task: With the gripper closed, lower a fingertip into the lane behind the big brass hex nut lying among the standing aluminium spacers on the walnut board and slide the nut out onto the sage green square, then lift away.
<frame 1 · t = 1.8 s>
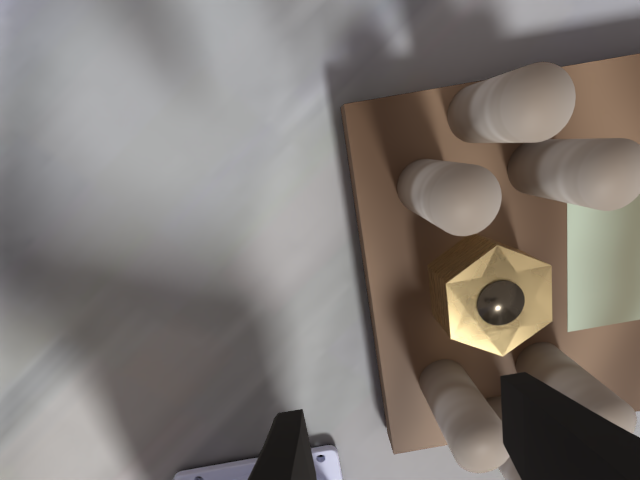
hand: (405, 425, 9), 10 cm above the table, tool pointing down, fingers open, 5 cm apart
nut: (474, 282, 18), point 1 cm above the table, touching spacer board
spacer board: (509, 264, 20), on the table
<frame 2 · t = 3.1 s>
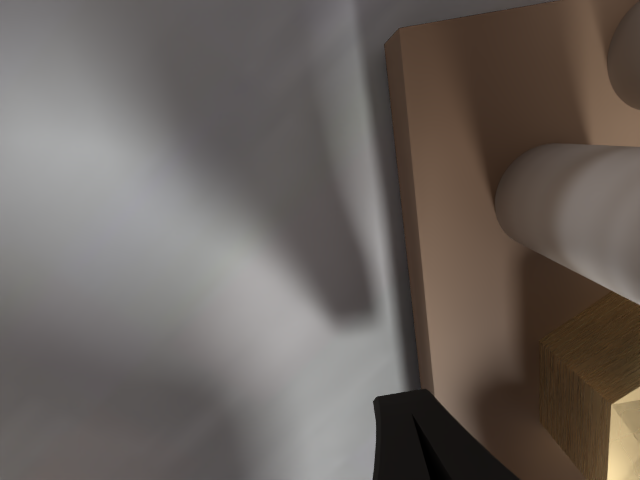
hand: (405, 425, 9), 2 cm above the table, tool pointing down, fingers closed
nut: (621, 368, 10), point 1 cm above the table, touching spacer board
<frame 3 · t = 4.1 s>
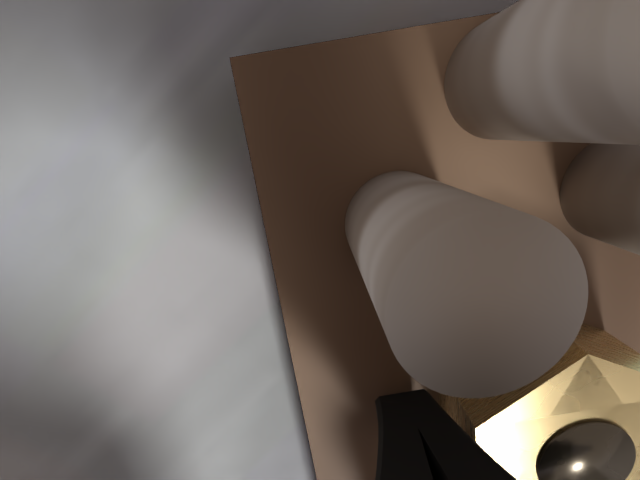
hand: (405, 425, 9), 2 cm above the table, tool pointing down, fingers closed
nut: (520, 386, 10), point 2 cm above the table, touching gripper
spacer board: (548, 346, 12), on the table
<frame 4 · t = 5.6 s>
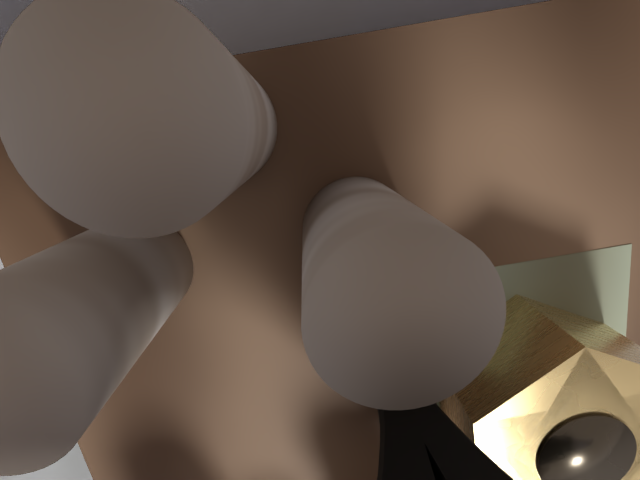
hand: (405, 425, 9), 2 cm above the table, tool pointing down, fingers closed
nut: (520, 381, 10), point 2 cm above the table, touching gripper, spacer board
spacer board: (354, 377, 12), on the table
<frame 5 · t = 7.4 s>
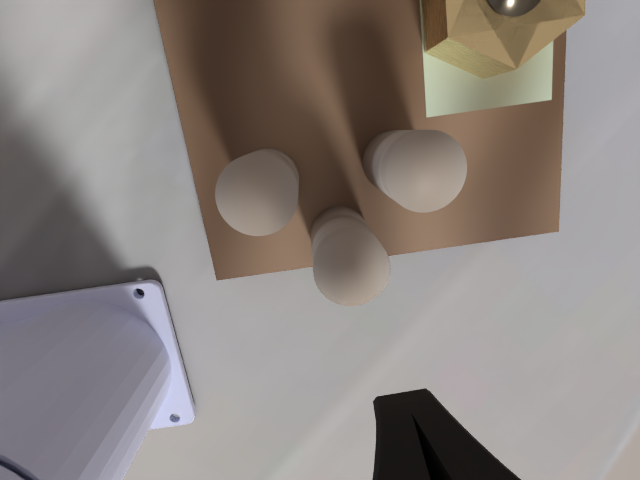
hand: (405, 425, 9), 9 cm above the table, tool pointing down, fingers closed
nut: (480, 5, 14), point 2 cm above the table, touching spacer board
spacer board: (361, 36, 16), on the table
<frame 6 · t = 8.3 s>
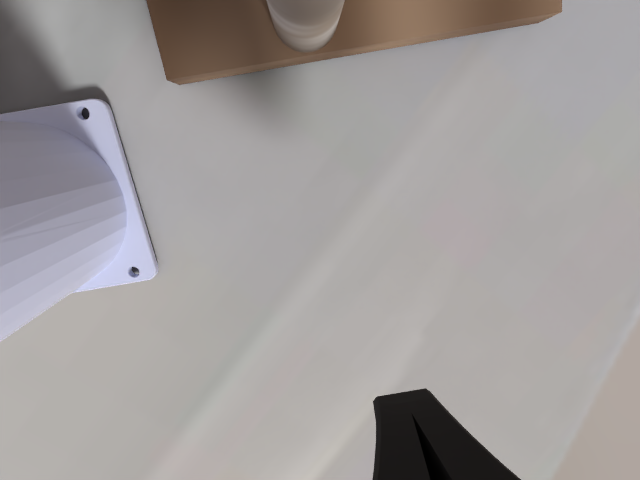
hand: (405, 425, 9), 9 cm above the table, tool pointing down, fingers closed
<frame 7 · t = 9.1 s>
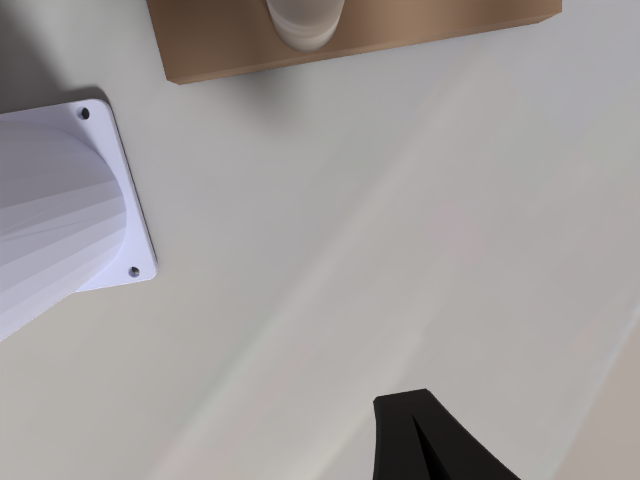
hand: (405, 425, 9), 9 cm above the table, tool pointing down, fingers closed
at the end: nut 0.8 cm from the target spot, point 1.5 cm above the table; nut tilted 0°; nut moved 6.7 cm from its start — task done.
